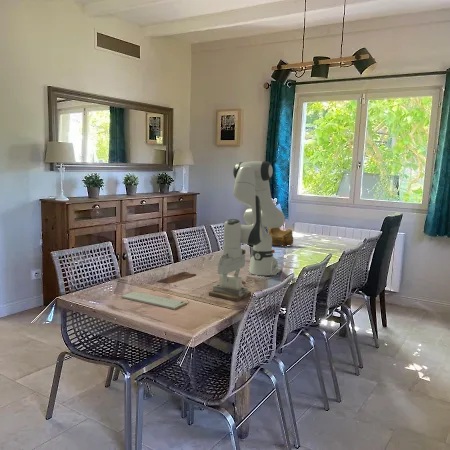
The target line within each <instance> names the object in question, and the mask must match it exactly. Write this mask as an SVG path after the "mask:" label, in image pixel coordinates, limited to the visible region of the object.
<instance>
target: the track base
mask: <svg viewBox="0 0 450 450" xmlns="http://www.w3.org/2000/svg"><path fill="white" fill-rule="evenodd" d="M219 284H220V282H219V283H217V284H214V285H213V286H212V290H211V291H209V292H208V296H211V297H215V298H219V299H224V300H229V301H233V302H238V301H240V300H243V299H245V298H247V297H249V296H251V295H252V291H251V290H250V291H249V288H247V287H242V286H241V290H240V291H239V290H234V289H230V288H225V287H220V286H219Z"/></svg>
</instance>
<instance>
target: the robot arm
mask: <svg viewBox="0 0 450 450" xmlns="http://www.w3.org/2000/svg"><path fill="white" fill-rule="evenodd" d="M273 170H274V169H273V166H272V163H270V162H269V161H265V160H263V161H259V160H252V161H245V162H243V161H241V162H237V163H236V164H235V165H234V166H233V170H232V171H233V172H232V174H233V178H234V179H235V181H234V185H233V196H234V198H235V200H237V201H238V202H239V203H241V204H243V205H245V206H247V207H248V208H247V209H245V211H244V213H243V220H244V223H245V224H241V220H240V219H238V218H237V219H236V218H231V219H230V218H229V219H227V220H225V222H224V225H223V231H222V232H223V234H222V236H223V237H222V238H223V245H222V255H221V256H220V257H219V259H218V263H217V274H218V275H222V276H223V278H224V282H228V278H227V275H229V274H230V273H233V272H234V274H233V276H236V277H239V274H240V271H241V269H242V268H245V266H246V265H245V263H246V252H247V251H246V249H243V248H242V246H241V244H242V245H243V244H244V245H245V244H246V245H250V246H252V247H253V249H252V252H251V253H252V254H251V257H250V260H249V268H247V272H249V274H253V275H255V276H256V275H257V276H276V275H278V274H279V273H281V272H282V268H280V267H279V266H278V260H277V259H276V258H275V257H274V254H275V249H273V246H272V237H271V235H270V234H269V232H268V231H266V228H267V229H268V228H278V227H279V228H281V227H282V226H284V223H285V219H286V217H285V214H284V212H283V211H282V210H280V208H278V207H277V206H276V204H275V202H274V201H273V198H272V193H271V187H270V180H271V179H272V177H273V173H274V172H273ZM277 273H278V274H277Z"/></svg>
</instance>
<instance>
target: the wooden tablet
mask: <svg viewBox="0 0 450 450" xmlns="http://www.w3.org/2000/svg"><path fill="white" fill-rule="evenodd" d="M195 276H197V273H190V272H188V271H181V272H179V273H175V274H173V275H170V276H167V277H165V278H162V279H159V280H157V281H156V283H159V284H168V285H169V284H173V283H177V282H180V281H183V280H185V279H189V278H192V277H195Z"/></svg>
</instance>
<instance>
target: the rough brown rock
mask: <svg viewBox="0 0 450 450" xmlns="http://www.w3.org/2000/svg"><path fill="white" fill-rule="evenodd" d="M267 232H268V234H270V235H271V237H272V245H274V246H279V245H283V246H287V245H291V246H292V245H293V244H294V237H293V230H292V229H290V228H289V229H286V230H282V229H281V227H278V228H268V227H267Z"/></svg>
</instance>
